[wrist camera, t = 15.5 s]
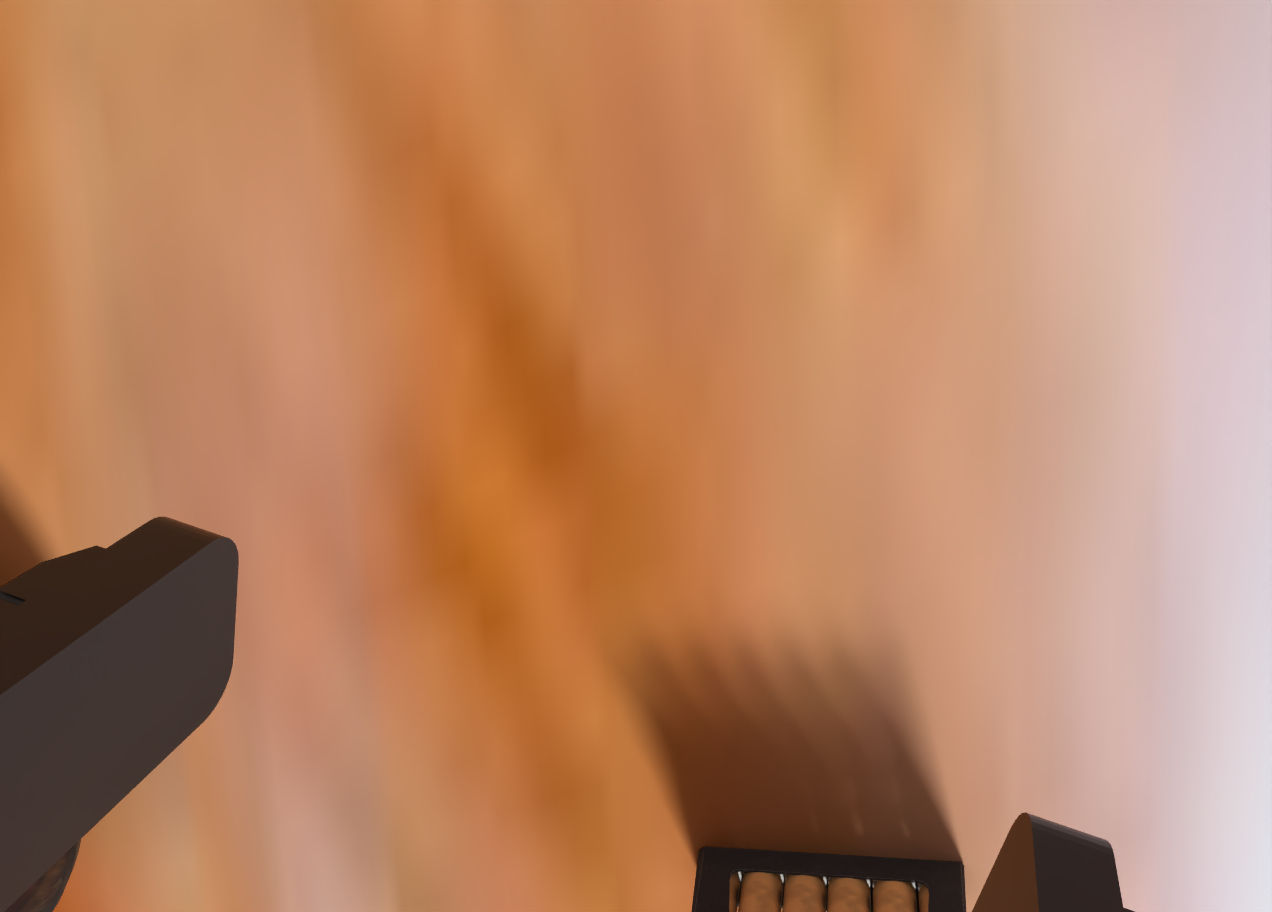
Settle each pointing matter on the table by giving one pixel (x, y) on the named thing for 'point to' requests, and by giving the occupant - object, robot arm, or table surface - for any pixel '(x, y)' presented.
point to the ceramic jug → (48, 886)
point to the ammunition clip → (823, 883)
